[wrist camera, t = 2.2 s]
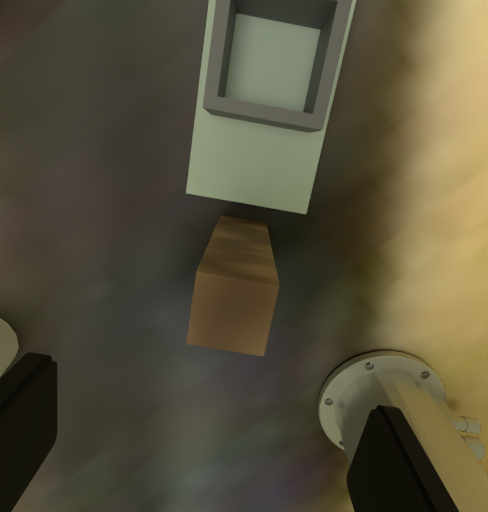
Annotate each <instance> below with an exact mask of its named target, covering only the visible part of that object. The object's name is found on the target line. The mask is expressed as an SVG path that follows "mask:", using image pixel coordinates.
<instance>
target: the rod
mask: <svg viewBox="0 0 488 512" xmlns="http://www.w3.org/2000/svg"><path fill="white" fill-rule="evenodd" d="M279 286H280V285H279V280H278V276H277V271H276V266H275V261H274V257H273V252H272V247H271V242H270V238H269V233H268V228H267V223H266V222H261V221H255V220H249V219H243V218H238V217H232V216H226V215H220V218H219V220H218V222H217V225H216V227H215V229H214V232H213V234H212V236H211V239H210V241H209V243H208V246H207V248H206V250H205V253H204V255H203V257H202V260H201V262H200V264H199V267H198V269H197V271H196V278H195V285H194V293H193V300H192V307H191V314H190V321H189V328H188V336H187V343H186V344H190V345H196V346H202V347H208V348H215V349H221V350H227V351H233V352H240V353H246V354H252V355H258V356H264V353H265V348H266V344H267V339H268V335H269V330H270V326H271V321H272V317H273V312H274V308H275V303H276V299H277V294H278V290H279Z"/></svg>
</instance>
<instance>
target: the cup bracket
mask: <svg viewBox="0 0 488 512" xmlns="http://www.w3.org/2000/svg"><path fill="white" fill-rule="evenodd" d="M355 4H356V0H209V5H208V14H207V22H206V30H205V39H204V47H203V55H202V64H201V72H200V80H199V89H198V97H197V105H196V114H195V122H194V130H193V139H192V147H191V155H190V164H189V172H188V180H187V189H186V193H188V194H194V195H199V196H205V197H211V198H216V199H222V200H228V201H233V202H239V203H245V204H250V205H256V206H262V207H267V208H273V209H279V210H284V211H290V212H296V213H301V214H306V213H307V209H308V205H309V200H310V196H311V192H312V187H313V183H314V179H315V175H316V170H317V166H318V162H319V157H320V153H321V149H322V145H323V140H324V136H325V132H326V128H327V123H328V119H329V115H330V110H331V106H332V102H333V98H334V93H335V89H336V85H337V81H338V76H339V72H340V68H341V63H342V59H343V55H344V51H345V46H346V42H347V38H348V33H349V29H350V25H351V21H352V16H353V12H354V8H355Z"/></svg>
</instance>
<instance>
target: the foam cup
mask: <svg viewBox="0 0 488 512" xmlns="http://www.w3.org/2000/svg"><path fill="white" fill-rule="evenodd" d="M18 348H19V346H18V341H17V336H16V334H15V332H14V331H13V330H12V328H11V327H10V326H9V324H8V323H7V322H5V321H4V320H2V319H1V318H0V376H1V375H2V374H3V372H4V371H5V370H6V369H7V367H8V366H9V365H10V364H11V363H12V360H13V359H14V358H15V357H16V354H17V351H18Z"/></svg>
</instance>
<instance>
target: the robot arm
mask: <svg viewBox="0 0 488 512" xmlns="http://www.w3.org/2000/svg"><path fill="white" fill-rule="evenodd" d="M446 399H447V397H446V393H445V388H444V386H443V384H442V382H441V380H440V378H439V377H438V376H437V375H436V373H435V372H434V371H433V370H432V369H431V368H430V367H429V366H428V365H427V364H426V363H425V362H423V361H422V360H420V359H418V358H417V357H415V356H412V355H409V354H406V353H402V352H396V351H377V352H371V353H366V354H363V355H360V356H357V357H355V358H353V359H351V360H349V361H347V362H345V363H344V364H342V365H341V366H340V367H339V368H337V369H336V370H335V371H334V372H333V373H332V374H331V375H330V376H329V377H328V379H327V380H326V382H325V383H324V385H323V387H322V389H321V392H320V395H319V398H318V414H319V419H320V422H321V426H322V428H323V430H324V432H325V434H326V435H327V436H328V438H329V439H330V440H331V441H332V442H333V443H334V444H335V445H336V446H338V447H339V448H341V449H343V450H345V452H346V455H347V458H348V461H349V465H350V468H349V471H348V474H347V487H348V491H349V494H350V497H351V501H352V504H353V508H354V511H355V512H488V472H487V471H486V470H485V468H484V467H483V466H482V464H481V463H480V461H479V460H478V459H482V458H483V457H484V453H485V449H484V445H483V443H482V441H481V440H480V439H479V438H477V437H471V436H464V435H460V434H459V433H458V430H459V431H462V432H467V433H473V434H478V433H479V432H480V429H481V427H480V423H479V421H478V420H477V419H476V418H470V417H464V416H460V417H459V416H455V414H454V413H453V412H452V411H451V410H450V408H449V407H448V406H447V404H446ZM56 437H57V363H56V362H55V361H52V358H51V356H49V355H44V354H37V353H31V352H30V353H27V354H26V355H24V356H23V357H22V358H21V359H20V360H19V361H18V362H17V363H16V364H15V365H14V366H13V367H12V368H11V369H10V370H9V371H8V372H7V373H6V374H4V375H3V376H2V377H1V378H0V512H11V511H12V510H13V508H14V507H15V505H16V503H17V502H18V500H19V499H20V497H21V496H22V494H23V493H24V491H25V489H26V488H27V486H28V485H29V483H30V482H31V480H32V478H33V477H34V475H35V474H36V472H37V471H38V469H39V467H40V466H41V464H42V463H43V461H44V460H45V458H46V456H47V455H48V453H49V452H50V450H51V449H52V447H53V445H54V443H55V440H56Z"/></svg>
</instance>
